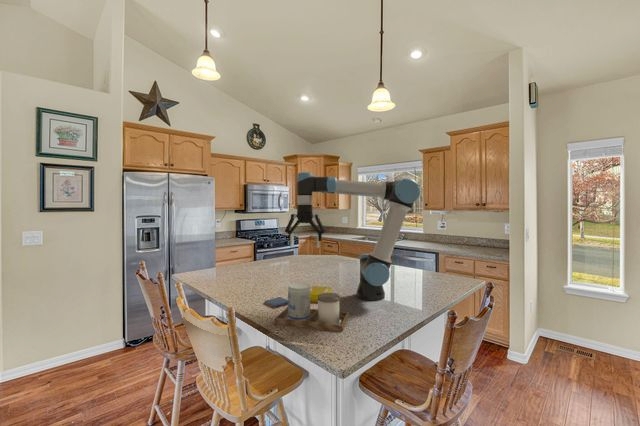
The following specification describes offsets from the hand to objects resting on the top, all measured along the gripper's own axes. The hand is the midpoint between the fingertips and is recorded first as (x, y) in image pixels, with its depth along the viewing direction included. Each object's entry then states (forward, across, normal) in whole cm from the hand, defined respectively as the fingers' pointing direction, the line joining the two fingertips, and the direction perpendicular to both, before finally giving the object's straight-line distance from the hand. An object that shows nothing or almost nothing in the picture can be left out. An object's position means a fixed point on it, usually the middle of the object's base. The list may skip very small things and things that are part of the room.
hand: (304, 247), depth 148 cm
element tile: (+29, -2, -12) cm, 32 cm away
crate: (+29, -10, +20) cm, 36 cm away
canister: (+28, -17, +20) cm, 38 cm away
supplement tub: (+28, -4, +20) cm, 35 cm away
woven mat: (+29, +14, +2) cm, 33 cm away
